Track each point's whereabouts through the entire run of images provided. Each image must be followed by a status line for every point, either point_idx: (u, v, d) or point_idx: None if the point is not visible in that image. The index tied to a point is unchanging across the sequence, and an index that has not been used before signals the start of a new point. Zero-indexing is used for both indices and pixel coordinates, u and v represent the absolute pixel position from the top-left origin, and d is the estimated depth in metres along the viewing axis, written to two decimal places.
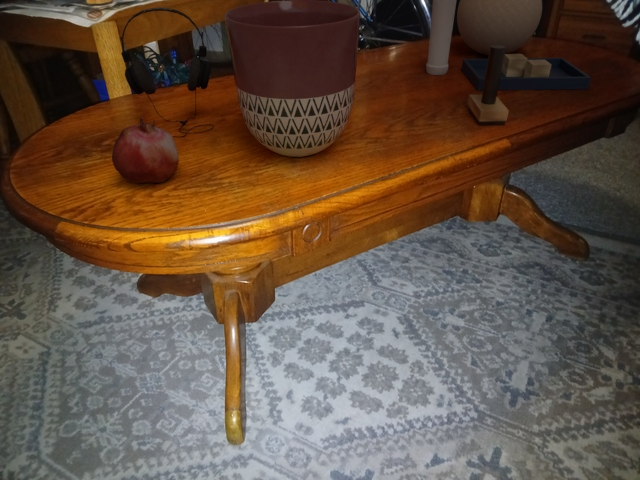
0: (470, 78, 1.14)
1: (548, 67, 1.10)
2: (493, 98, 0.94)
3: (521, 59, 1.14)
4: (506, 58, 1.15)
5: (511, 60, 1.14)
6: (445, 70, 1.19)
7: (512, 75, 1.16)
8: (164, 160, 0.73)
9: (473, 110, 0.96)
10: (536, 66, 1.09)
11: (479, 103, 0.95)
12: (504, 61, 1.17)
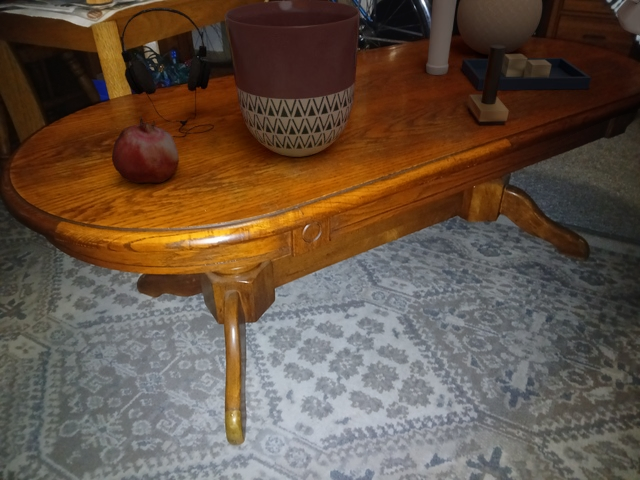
0: (470, 78, 1.14)
1: (548, 67, 1.10)
2: (493, 98, 0.94)
3: (521, 59, 1.14)
4: (506, 58, 1.15)
5: (511, 60, 1.14)
6: (445, 70, 1.19)
7: (512, 75, 1.16)
8: (164, 160, 0.73)
9: (473, 110, 0.96)
10: (536, 66, 1.09)
11: (479, 103, 0.95)
12: (504, 61, 1.17)
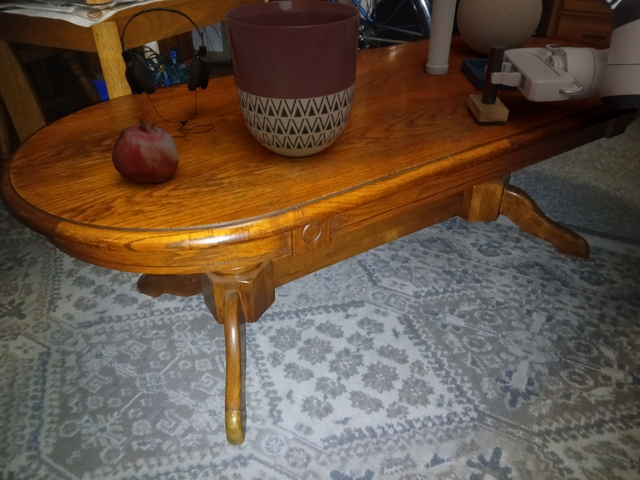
0: (470, 78, 1.14)
1: None
2: (493, 98, 0.94)
3: None
4: None
5: None
6: (445, 70, 1.19)
7: None
8: (164, 160, 0.73)
9: (473, 110, 0.96)
10: None
11: (479, 103, 0.95)
12: None
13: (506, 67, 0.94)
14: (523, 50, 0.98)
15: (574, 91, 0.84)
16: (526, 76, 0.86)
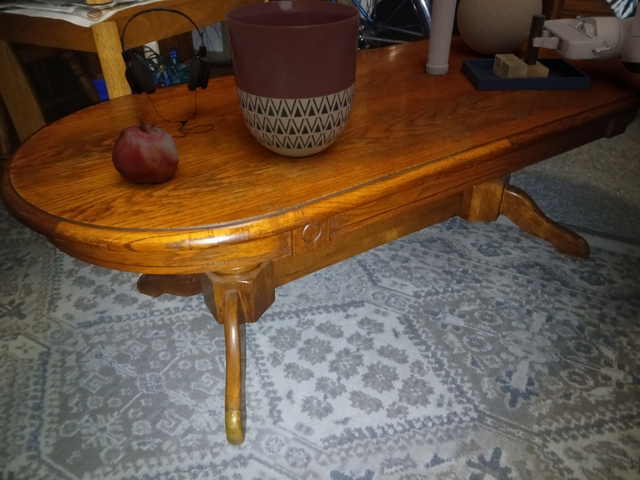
0: (470, 78, 1.14)
1: (525, 68, 1.09)
2: (535, 60, 1.12)
3: (513, 59, 1.14)
4: (498, 58, 1.15)
5: (503, 60, 1.14)
6: (445, 70, 1.19)
7: None
8: (164, 160, 0.73)
9: None
10: (513, 67, 1.09)
11: None
12: (495, 61, 1.16)
13: (544, 34, 1.13)
14: (557, 21, 1.17)
15: (604, 50, 1.02)
16: (563, 39, 1.05)
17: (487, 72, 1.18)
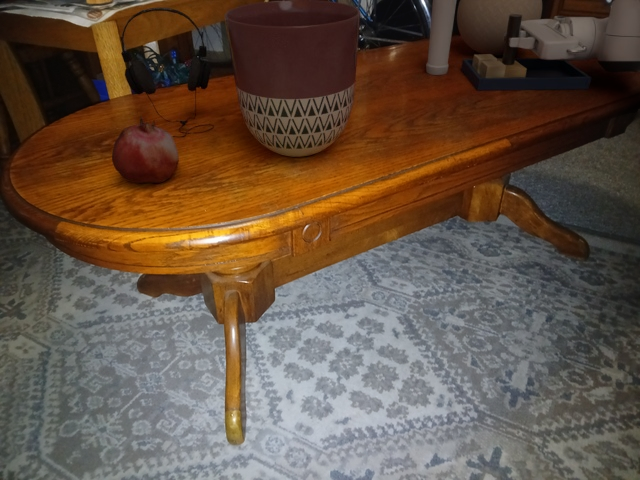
0: (470, 78, 1.14)
1: (503, 69, 1.09)
2: (513, 59, 1.12)
3: (491, 59, 1.14)
4: (476, 59, 1.15)
5: (481, 60, 1.14)
6: (445, 70, 1.19)
7: None
8: (164, 160, 0.73)
9: None
10: (491, 67, 1.09)
11: None
12: (474, 62, 1.17)
13: (521, 34, 1.13)
14: (535, 21, 1.17)
15: (578, 50, 1.02)
16: (539, 39, 1.05)
17: None
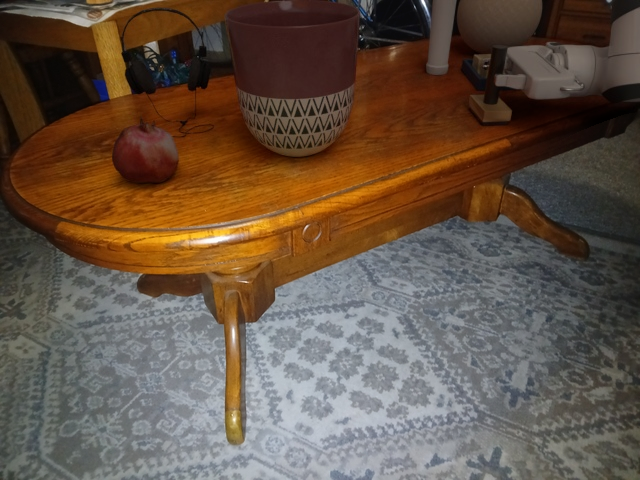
0: (470, 78, 1.14)
1: None
2: (496, 98, 0.94)
3: None
4: (476, 59, 1.15)
5: (481, 60, 1.14)
6: (445, 70, 1.19)
7: None
8: (164, 160, 0.73)
9: (475, 110, 0.96)
10: None
11: (481, 103, 0.95)
12: (474, 62, 1.17)
13: None
14: (523, 48, 0.98)
15: (575, 89, 0.83)
16: (527, 74, 0.86)
17: None
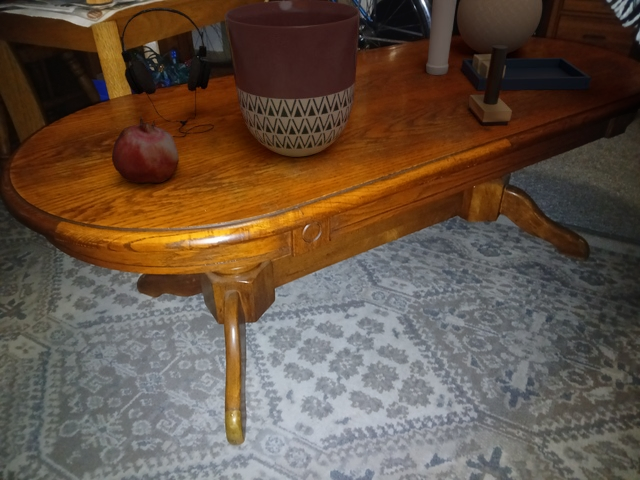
0: (470, 78, 1.14)
1: None
2: (496, 98, 0.94)
3: None
4: (476, 59, 1.15)
5: (481, 60, 1.14)
6: (445, 70, 1.19)
7: None
8: (164, 160, 0.73)
9: (475, 110, 0.96)
10: None
11: (481, 103, 0.95)
12: (474, 62, 1.17)
13: None
14: None
15: None
16: None
17: None
